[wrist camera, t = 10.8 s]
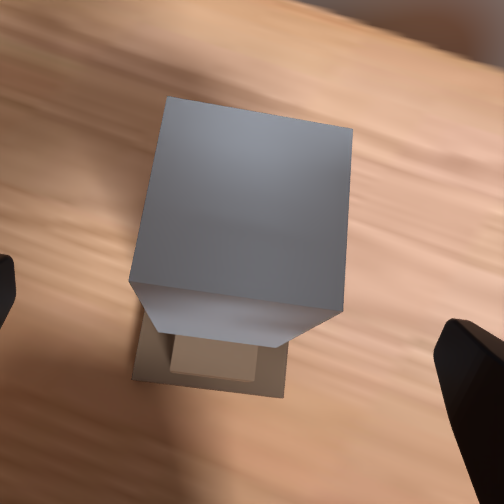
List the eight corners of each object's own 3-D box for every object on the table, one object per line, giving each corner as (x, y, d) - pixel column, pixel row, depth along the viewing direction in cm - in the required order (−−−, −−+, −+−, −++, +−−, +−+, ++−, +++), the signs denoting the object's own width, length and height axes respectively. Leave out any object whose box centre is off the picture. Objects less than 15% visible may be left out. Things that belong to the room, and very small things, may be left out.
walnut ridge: (278, 398, 22) (294, 398, 19) (134, 380, 21) (123, 377, 18) (294, 227, 25) (310, 201, 21) (167, 207, 24) (163, 177, 21)
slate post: (276, 347, 19) (343, 311, 11) (158, 332, 19) (128, 281, 10) (286, 238, 21) (352, 128, 12) (178, 221, 20) (167, 96, 12)
